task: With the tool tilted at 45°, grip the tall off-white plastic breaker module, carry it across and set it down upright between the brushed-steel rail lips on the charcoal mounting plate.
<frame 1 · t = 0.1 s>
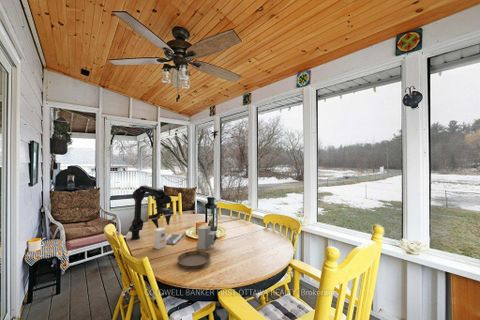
hand: (163, 226, 159), 15 cm above the table, tool pointing down, fingers open, 9 cm apart
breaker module: (159, 247, 160), on the table
rail plate: (172, 239, 175), on the table
circuit breaker: (207, 247, 159), on the table
plant saucer: (194, 262, 136), on the table
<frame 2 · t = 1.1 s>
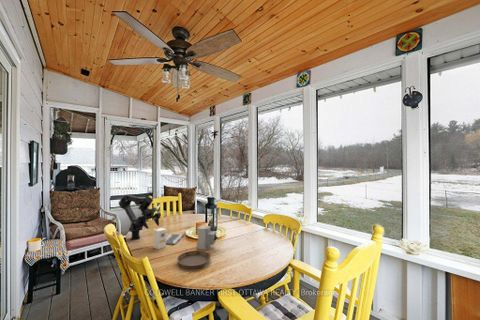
hand: (153, 227, 164), 13 cm above the table, tool tilted 45°, fingers open, 9 cm apart
nothing on the table moved.
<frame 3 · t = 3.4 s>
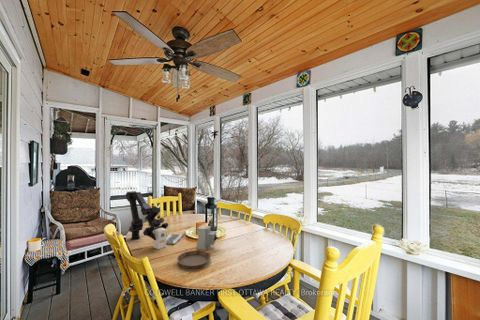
hand: (161, 238, 159), 7 cm above the table, tool tilted 45°, fingers open, 9 cm apart
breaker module: (159, 246, 160), on the table, touching gripper
everything else where it was.
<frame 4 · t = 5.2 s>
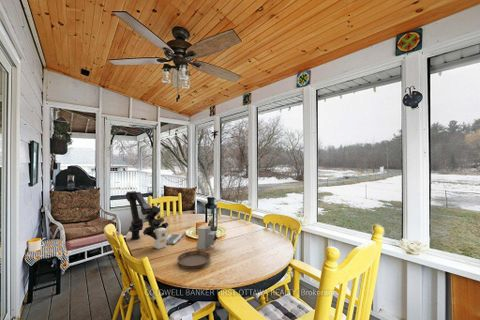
hand: (161, 237, 159), 7 cm above the table, tool tilted 45°, fingers closed on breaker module, 7 cm apart
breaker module: (159, 246, 160), on the table, touching gripper
everything else where it was.
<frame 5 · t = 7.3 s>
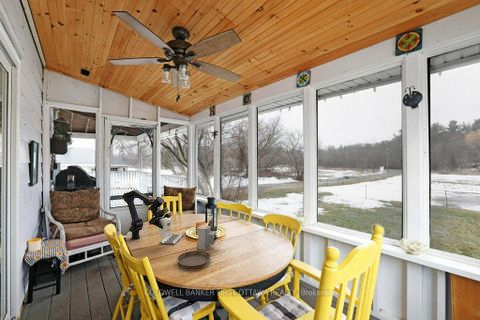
hand: (166, 227, 164), 14 cm above the table, tool tilted 45°, fingers closed on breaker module, 7 cm apart
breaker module: (164, 236, 164), point 7 cm above the table, touching gripper
everything else where it was.
when the fingers open (9 cm above the table, at t = 10.4 s): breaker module drops 1 cm, resting on rail plate.
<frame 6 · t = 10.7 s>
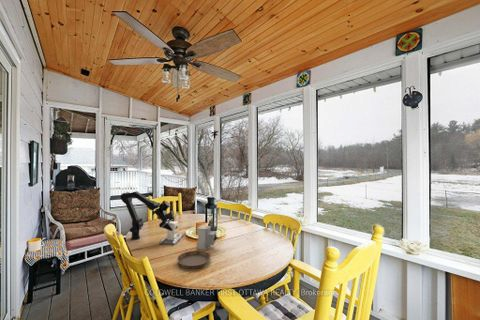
hand: (174, 228, 175), 9 cm above the table, tool tilted 45°, fingers open, 9 cm apart
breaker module: (172, 238, 175), point 1 cm above the table, touching rail plate
everything else where it was.
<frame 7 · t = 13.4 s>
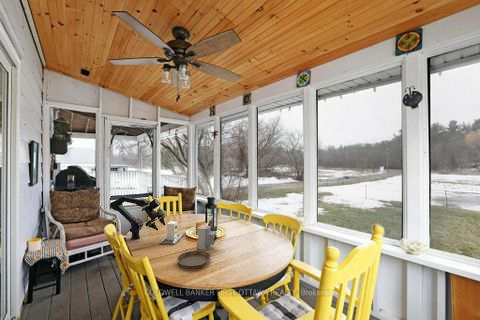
hand: (161, 227, 175), 10 cm above the table, tool tilted 40°, fingers open, 9 cm apart
nothing on the table moved.
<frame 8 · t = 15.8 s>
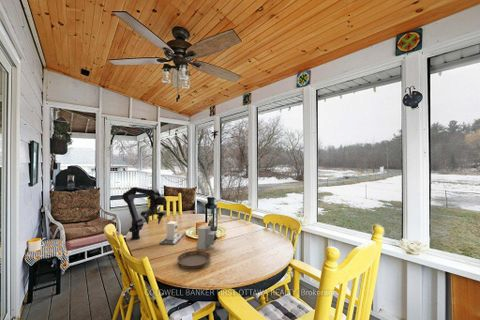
hand: (153, 224, 173), 13 cm above the table, tool pointing down, fingers open, 9 cm apart
nothing on the table moved.
at the end: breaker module 0.4 cm off-centre on the rail plate, point 1.0 cm above the rail plate's base; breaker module tilted 0°; the gripper is holding nothing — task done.
